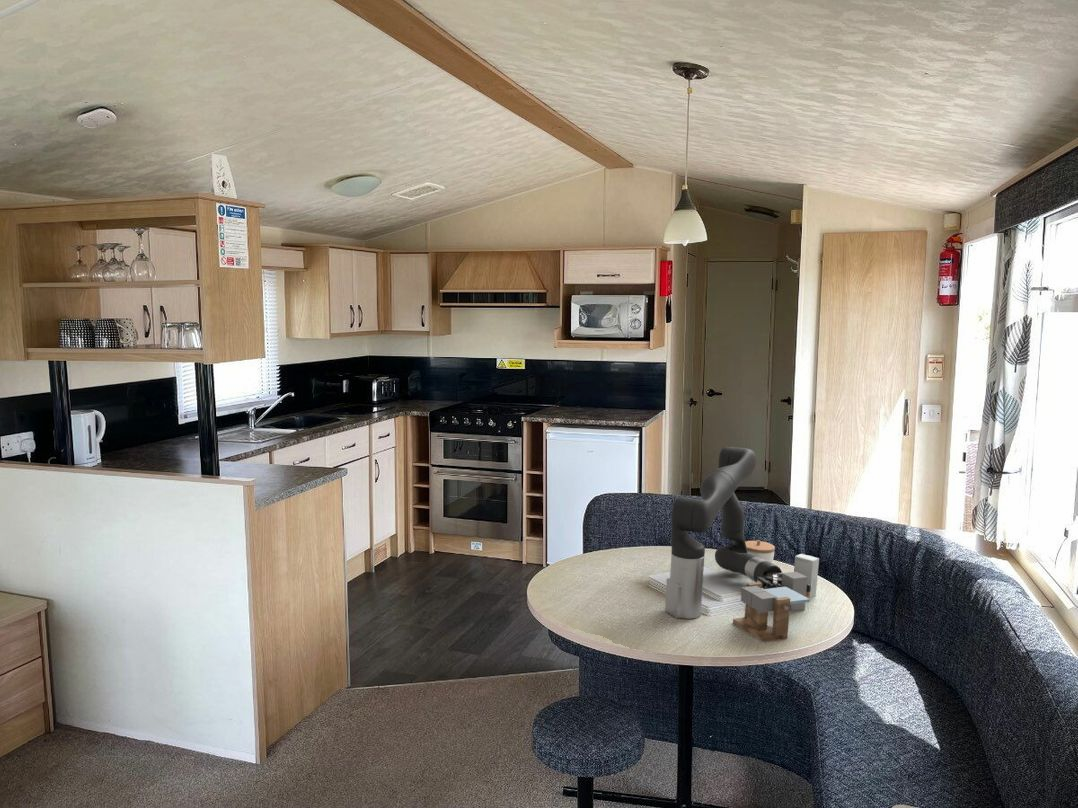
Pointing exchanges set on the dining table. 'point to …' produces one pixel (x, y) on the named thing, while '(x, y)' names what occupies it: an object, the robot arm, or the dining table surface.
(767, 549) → the lidded jar
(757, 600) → the trapdoor
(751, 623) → the trapdoor frame
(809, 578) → the skincare box
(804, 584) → the basalt block
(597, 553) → the dining table surface
